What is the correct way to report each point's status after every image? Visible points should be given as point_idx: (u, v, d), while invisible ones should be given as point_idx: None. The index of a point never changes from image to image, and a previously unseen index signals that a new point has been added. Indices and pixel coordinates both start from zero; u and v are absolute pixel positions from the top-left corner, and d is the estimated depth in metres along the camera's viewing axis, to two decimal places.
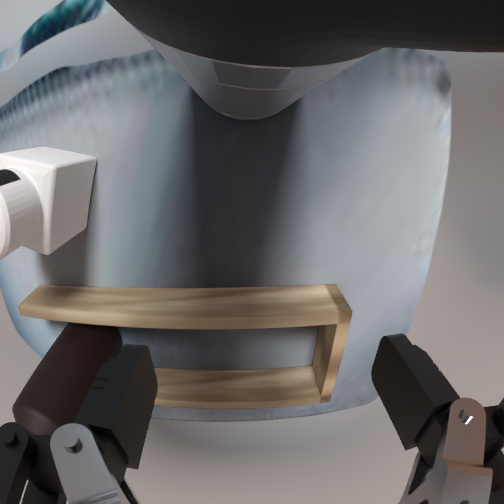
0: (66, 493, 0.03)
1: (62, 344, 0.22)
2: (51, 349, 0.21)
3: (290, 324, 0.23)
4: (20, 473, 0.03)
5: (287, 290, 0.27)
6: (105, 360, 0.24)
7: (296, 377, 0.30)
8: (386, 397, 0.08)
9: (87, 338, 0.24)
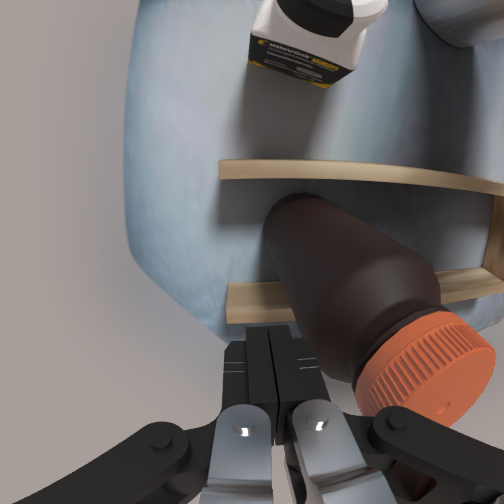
0: (210, 470, 0.04)
1: (325, 207, 0.18)
2: (311, 214, 0.17)
3: None
4: (154, 482, 0.04)
5: None
6: None
7: (480, 273, 0.26)
8: None
9: None
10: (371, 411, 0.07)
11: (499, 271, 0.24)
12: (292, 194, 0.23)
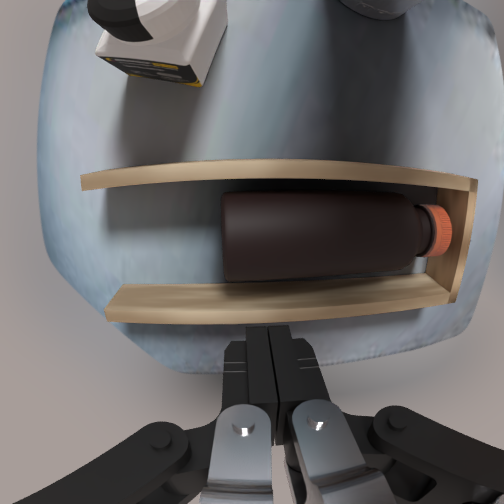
0: (211, 470, 0.04)
1: (307, 190, 0.21)
2: (321, 194, 0.20)
3: (438, 183, 0.19)
4: (154, 482, 0.04)
5: (415, 168, 0.23)
6: None
7: (418, 280, 0.26)
8: None
9: None
10: (447, 234, 0.21)
11: (443, 278, 0.24)
12: (229, 193, 0.20)
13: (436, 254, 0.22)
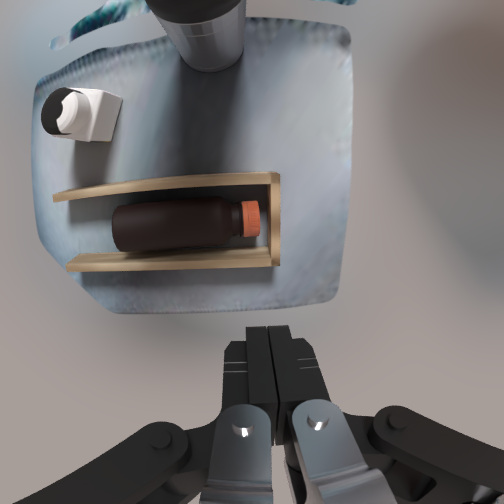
0: (211, 470, 0.04)
1: (158, 202, 0.37)
2: (162, 206, 0.36)
3: (237, 182, 0.35)
4: (154, 482, 0.04)
5: None
6: None
7: (253, 250, 0.42)
8: None
9: None
10: (254, 224, 0.37)
11: None
12: (117, 209, 0.36)
13: (252, 235, 0.39)
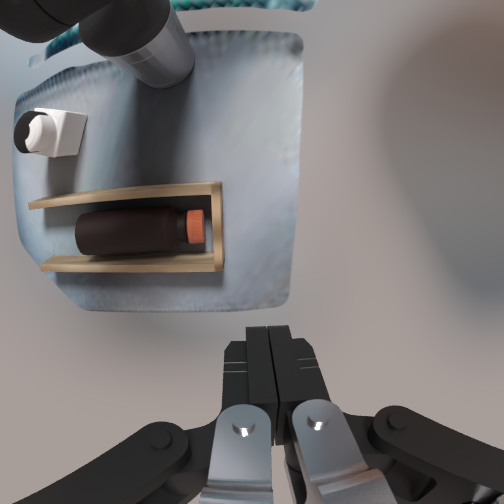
0: (211, 470, 0.04)
1: (114, 211, 0.39)
2: (117, 215, 0.38)
3: (180, 193, 0.37)
4: (154, 482, 0.04)
5: (187, 183, 0.41)
6: None
7: (201, 256, 0.44)
8: None
9: None
10: (197, 232, 0.39)
11: None
12: (80, 217, 0.38)
13: (198, 242, 0.41)
